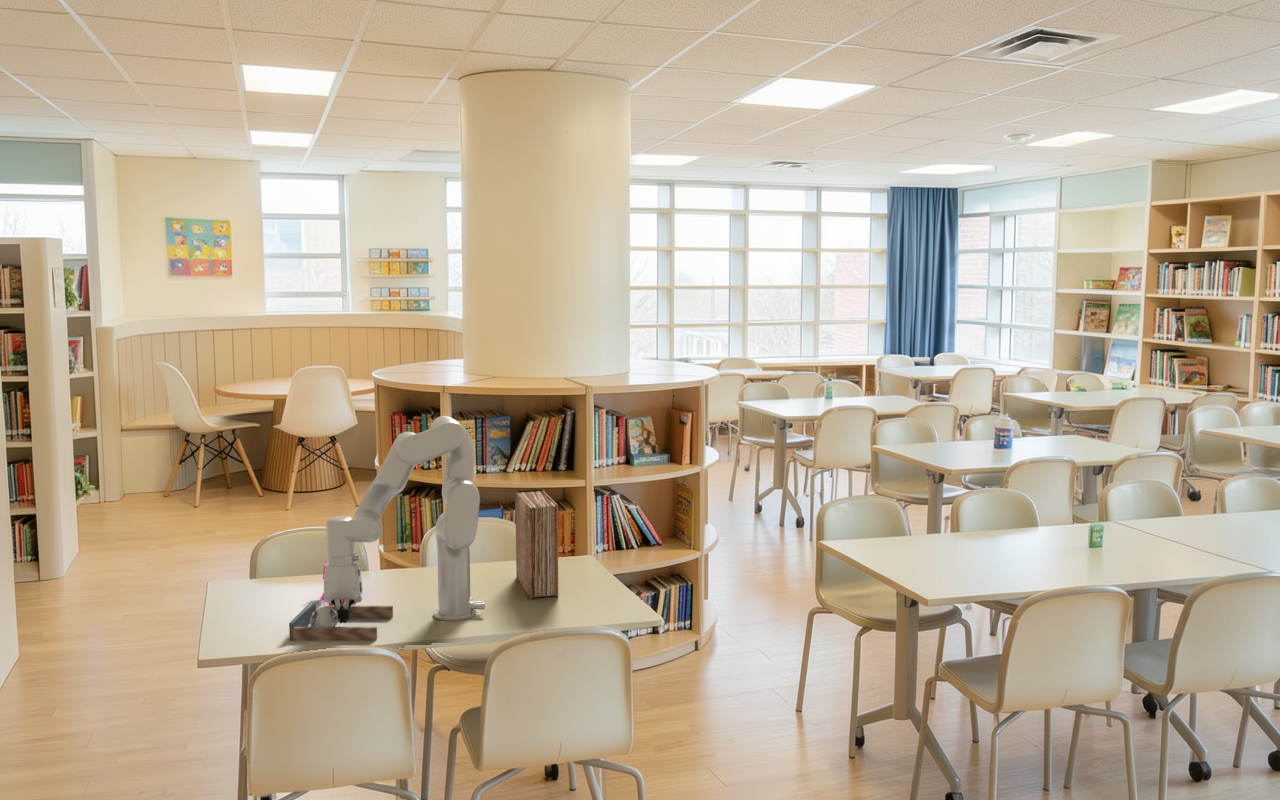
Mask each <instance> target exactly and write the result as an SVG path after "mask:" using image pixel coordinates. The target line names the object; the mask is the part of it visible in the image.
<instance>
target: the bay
mask: <svg viewBox="0 0 1280 800" xmlns="http://www.w3.org/2000/svg"><path fill="white" fill-rule="evenodd" d="M317 607H318V605H317V601H316V600H311V601H310V602H309V603H308V604H307V605H306V606H305V607H304V608H303V609H302V610H301V611H300V612H299V613H298V614H297V615H296V616H295V617H294V618H293V619H292V620H290V622H289V623H288V625H289V626H288V627H289V628H288V631H289V641H377V640H378V626H335V627H310V625H311V624H310V618H311V616H312V614H313V612H314V611H315V609H316V608H317ZM330 607H332V609H333V610H335V611H336V613H337V616H338V610H337V609H336V607H335V606H334V605H333V606H330ZM313 619H315V618H313ZM335 619H337V617H336V616H335ZM350 619H394V606H393V605H351V606H350Z"/></svg>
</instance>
